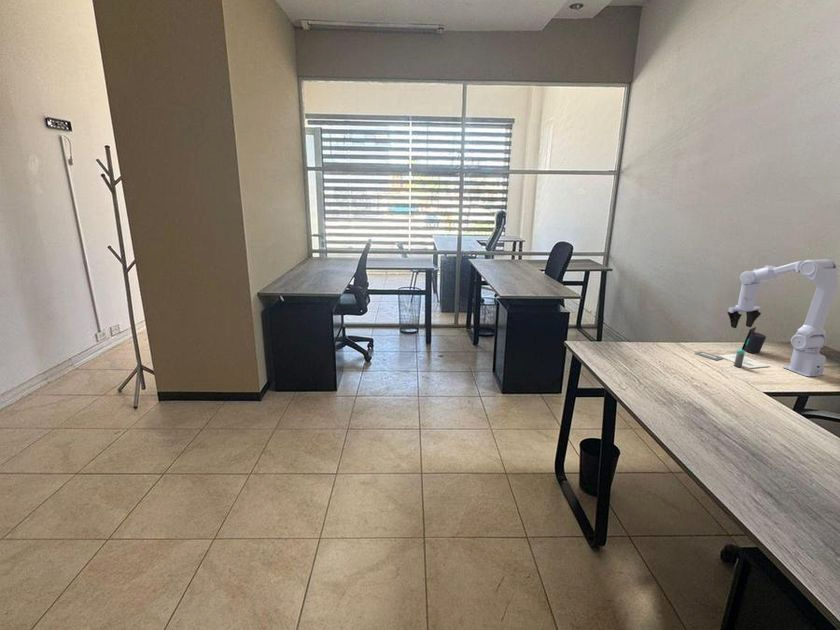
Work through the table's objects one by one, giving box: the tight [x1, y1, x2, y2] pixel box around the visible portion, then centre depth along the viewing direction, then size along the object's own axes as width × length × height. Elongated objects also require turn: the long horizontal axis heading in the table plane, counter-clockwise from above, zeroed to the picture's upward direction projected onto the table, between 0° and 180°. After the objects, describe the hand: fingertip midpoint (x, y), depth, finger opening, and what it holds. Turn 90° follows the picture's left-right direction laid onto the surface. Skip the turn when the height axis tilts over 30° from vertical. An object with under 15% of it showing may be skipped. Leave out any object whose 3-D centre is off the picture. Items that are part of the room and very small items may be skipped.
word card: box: [694, 351, 724, 361], centre depth 181 cm, size 9×5×1 cm, turn 26°
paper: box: [718, 353, 770, 370], centre depth 175 cm, size 14×10×1 cm
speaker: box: [741, 326, 767, 355], centre depth 185 cm, size 8×6×10 cm
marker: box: [733, 348, 746, 369], centre depth 169 cm, size 3×3×7 cm
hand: (741, 327), depth 188 cm, fingers open, 7 cm apart
